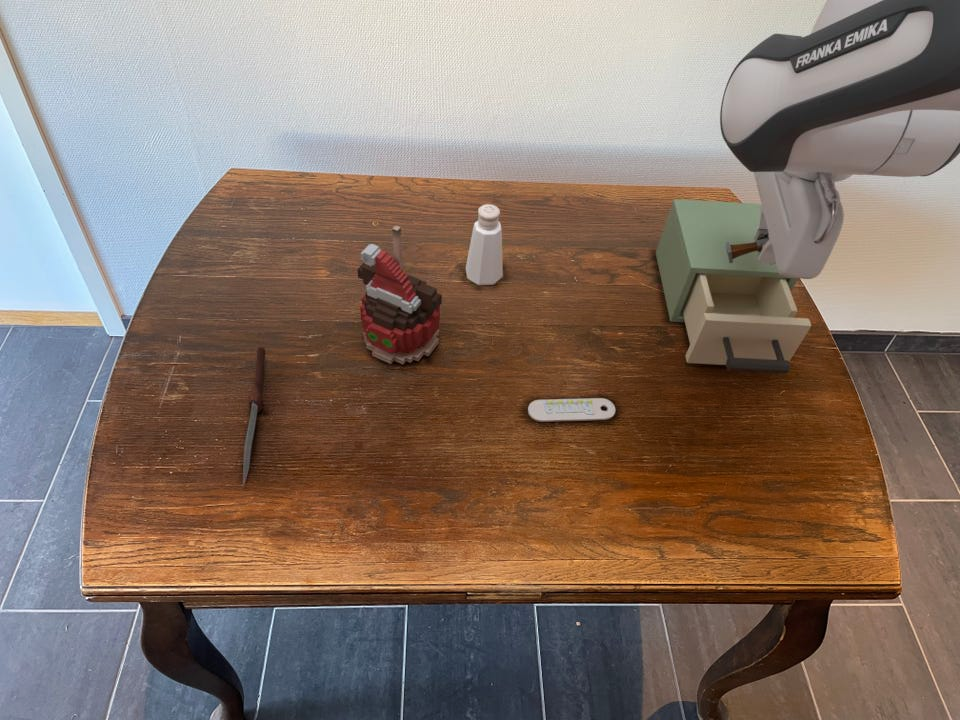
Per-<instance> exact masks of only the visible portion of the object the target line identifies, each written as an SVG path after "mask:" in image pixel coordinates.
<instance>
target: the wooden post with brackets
mask: <svg viewBox="0 0 960 720" xmlns="http://www.w3.org/2000/svg"><path fill="white" fill-rule="evenodd" d="M768 240H769V239H767V238H765V239H761V240H756V242H752V243H746V244H737V245H730V243H729V242H726V248H727V255H728V259H729V263H733V259H735V258H737V257H739V256H742V255H745V254H748V253H751V252H754V251H758V249H759V247H760V245H761V242H767V241H768ZM775 263H776V262H775ZM775 263H773V264H775ZM770 265H772V264H770Z"/></svg>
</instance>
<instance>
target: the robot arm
mask: <svg viewBox="0 0 960 720" xmlns="http://www.w3.org/2000/svg"><path fill="white" fill-rule="evenodd" d="M725 85H726V86H725V88H724V92H723V95H722V98H721V104H720V113H719V124H720V126H719V127H720V132H721V136H722V139H723V141H724V142H725V144H726V146H727V147H728V149H729V150H730V151H731V153H732V154H733V156H734V157H735V158H736V159H737V160H738V161H739V162H740V164H742V166H744V167H745V169H747V170H748V171H749V172H751V173H753V174H754V179H755V183H756V187H757V191H758V196H759V199H760V204H762V205H761V209H760V215H759V221H758V226H757V229H756V231H755V233H754V240H755V242H756V240H761V239H765V238H767V239H769V240H768V241H767V242H761V245H760V247H759V249H758V251H757V253H758V259H759V262H760V263H765V264H773V263H775V262H776V265H777V270H778V273H779V274H780V275H782V276H785V277H792V278H798V279H801V280H812V279H815V278H817V277H819V276H820V275H821V273H822V271H823V269H824V268H825V266H826V264H827V262H828V260H829V258H830V256H831V254H832V252H833V250H834V248H835V245H836V243H837V241H838V239H839V236H840V234H841V231H842V229H843V224H844V221H845V220H844V218H845V217H844V216H845V213H844V212H845V211H844V206H843V204H842V202H841V195H840V193H839V190H838V189H837V187H836V183H837V182H842V181H845V180H847V179H849V178H851V177H852V176H853V175H855V176H879V177H881V176H882V177H897V178H899V177H901V178H911V177H912V178H914V177H929V176H931V175H933V174H935V173H936V172H938V171H941V170H942V169H943V168H945V167H946V166H948V165H950V163H951V162H952V161H953V160H955V159H956V158H957V157H958V156H959V154H960V0H826V1H825V3H824V4H823V7H822V9H821V11H820V12H819V15H818V17H817V19H816V21H815V23H814V25H813V26H812V29H811V32H810V34H808V35H805V36H802V35H793V34H784V33H773V34H771V35H770V36H768V37H767V38H765V39H764V40H762V41H761V42H760V43H758V44H756V46H754V47H753V48H752V49H751V50H750V51H749V52H748V53H747V54H746V55H744V57H742V59H740V61H739V62H738V63H737V64H736V66H734V69H733V70H732V72H731V74H730V75H729V77H728V80H727V83H726V84H725Z"/></svg>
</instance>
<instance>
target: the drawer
mask: <svg viewBox="0 0 960 720" xmlns="http://www.w3.org/2000/svg"><path fill="white" fill-rule="evenodd" d="M682 312H683V316H684V320H685V322H684V323H685V329H686V333H687V337H688V342H689V347H688V349H687V351H686V352H685V361H686V363H687V364H698V365H699V364H700V365H701V364H702V365H718V366H721V365H722V366H725V367H726V370H727V371H734V372H735V371H736V372H737V371H738V372H756V373H757V372H758V373H774V374H776V373H777V374H788V373H790V370H791V360H792V358H793V356H794V355H795V353H797V350H798V348H799V347H800V345H801V344H802V342H803V341H804V339H805V337H806V336H807V334H808V332H809V331H810V330H811V328H812V323H811V320H810V319H809V318H806V317H805V318H804V317H796V315H797V313H798V308H797V305H796V302H795V300H794V298H793V295H792V291H791V292H790V289H789V287H788V284H787V281H786V279H785V278H774V277H756V276H738V275H721V274H703V273H696V275H695V277H694V280H693V282H692V285H691V287H690V290H689V292H688V295H687V297H686V300H685V302H684V305H683V307H682Z"/></svg>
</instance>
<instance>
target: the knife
mask: <svg viewBox="0 0 960 720" xmlns="http://www.w3.org/2000/svg"><path fill="white" fill-rule="evenodd" d="M265 361H266V348H265V347H263V346H259V347H257V350H256V363H255V376H254V382H253V387H252V389H251V391H250V393H249V396H248V405H249V409H250V416H249V421H248V425H247V426H248V427H247V431H246V436H245V440H244V449H243V466H242V467H243V468H242V469H243V471H242V473H243V474H242V482H243V483H242V486H243V488H244V486H245V484H246V480H247V477H248V473H249V470H250V461H251V454H252V449H253V444H254V437H255V431H256V430H255V429H256V425H257V424H256V422H257V416H258V415H257V414H259V413H260V412H261V411H262V408H263V404H264V402H263V397H262V392H263V385H264V376H265Z"/></svg>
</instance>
